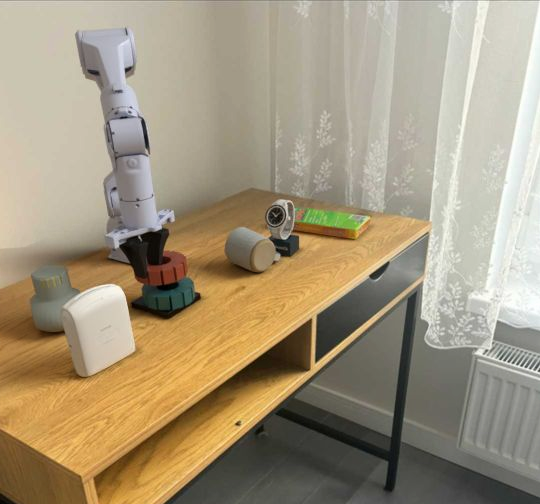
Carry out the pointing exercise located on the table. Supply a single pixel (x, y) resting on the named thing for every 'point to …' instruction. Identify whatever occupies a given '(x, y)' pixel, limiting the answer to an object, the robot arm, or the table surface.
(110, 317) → the photo printer
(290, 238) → the watch
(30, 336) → the table surface
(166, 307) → the teal ring
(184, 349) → the table surface
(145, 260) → the robot arm
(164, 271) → the brick ring
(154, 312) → the peg stand
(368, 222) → the game box
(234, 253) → the ceramic mug
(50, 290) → the air freshener
